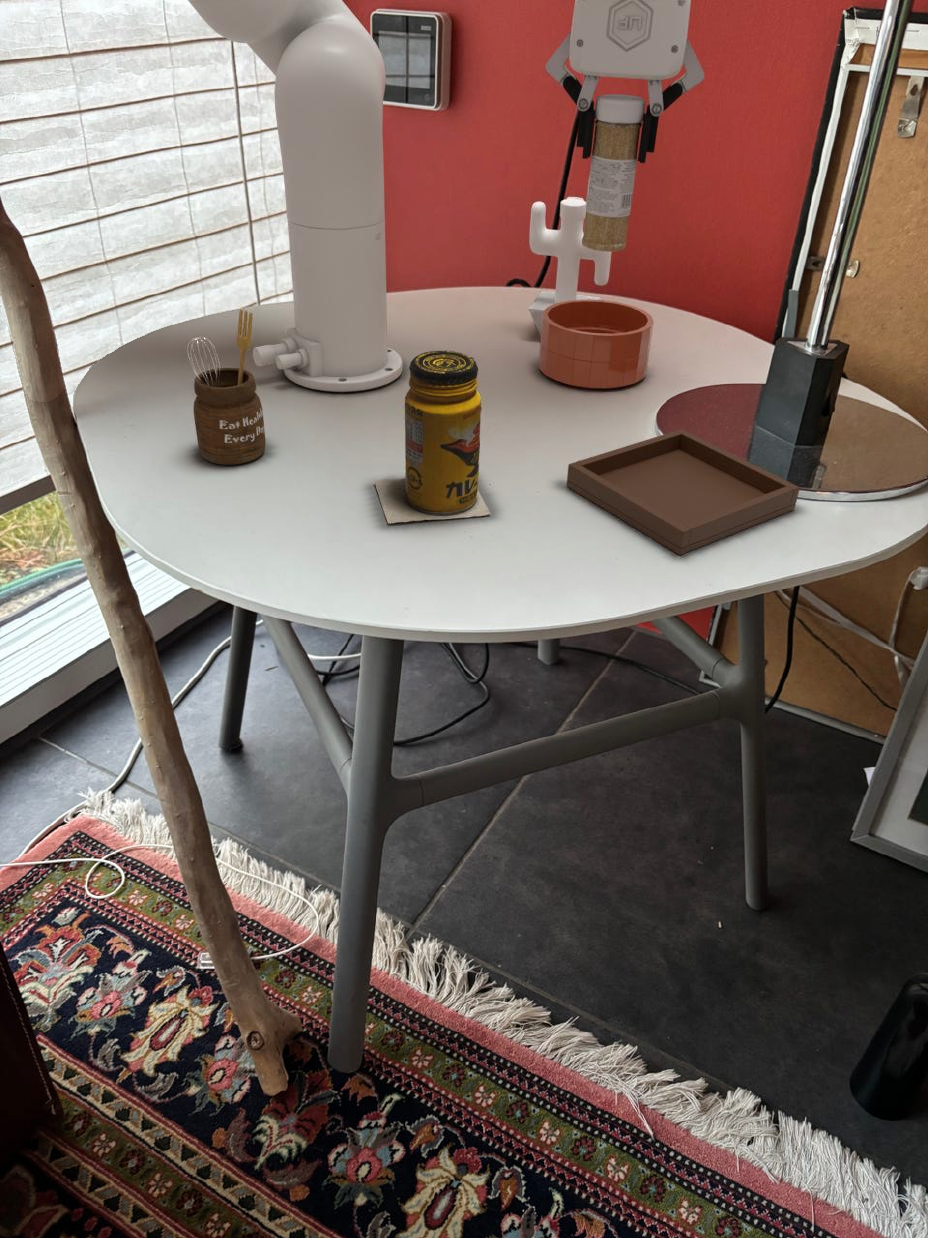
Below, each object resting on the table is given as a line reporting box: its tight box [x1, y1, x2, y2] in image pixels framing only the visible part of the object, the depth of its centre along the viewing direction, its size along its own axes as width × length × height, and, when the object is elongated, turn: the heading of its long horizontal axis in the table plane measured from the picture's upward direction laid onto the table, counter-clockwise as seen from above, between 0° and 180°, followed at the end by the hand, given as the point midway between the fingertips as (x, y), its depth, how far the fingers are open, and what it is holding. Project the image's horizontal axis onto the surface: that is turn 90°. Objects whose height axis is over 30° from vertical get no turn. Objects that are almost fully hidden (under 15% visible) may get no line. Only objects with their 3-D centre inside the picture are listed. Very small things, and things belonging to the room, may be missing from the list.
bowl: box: [538, 299, 655, 390], centre depth 105 cm, size 12×12×6 cm
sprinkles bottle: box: [582, 93, 646, 253], centre depth 94 cm, size 5×5×14 cm
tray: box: [566, 428, 801, 556], centre depth 82 cm, size 14×14×2 cm
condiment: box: [373, 350, 492, 524], centre depth 78 cm, size 7×8×12 cm
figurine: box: [528, 196, 612, 337], centre depth 112 cm, size 7×9×15 cm
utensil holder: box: [186, 308, 266, 466], centre depth 85 cm, size 6×6×12 cm
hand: (614, 156), depth 93 cm, fingers closed on sprinkles bottle, 4 cm apart
